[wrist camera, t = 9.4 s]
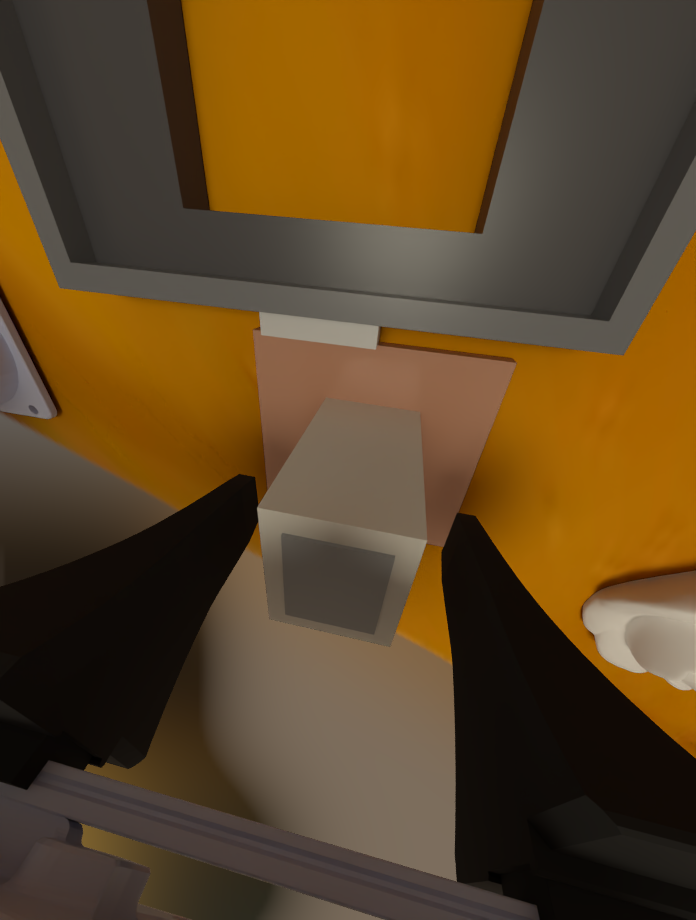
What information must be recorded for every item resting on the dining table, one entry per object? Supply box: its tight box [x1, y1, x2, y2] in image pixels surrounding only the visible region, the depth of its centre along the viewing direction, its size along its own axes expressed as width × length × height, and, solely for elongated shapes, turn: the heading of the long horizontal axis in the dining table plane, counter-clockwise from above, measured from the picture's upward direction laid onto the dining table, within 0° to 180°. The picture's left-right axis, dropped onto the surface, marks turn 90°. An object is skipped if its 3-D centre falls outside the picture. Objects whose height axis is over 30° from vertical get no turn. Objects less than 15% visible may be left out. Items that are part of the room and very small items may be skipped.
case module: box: [257, 398, 427, 647], centre depth 11 cm, size 4×5×7 cm
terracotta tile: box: [253, 327, 517, 547], centre depth 14 cm, size 10×10×1 cm
